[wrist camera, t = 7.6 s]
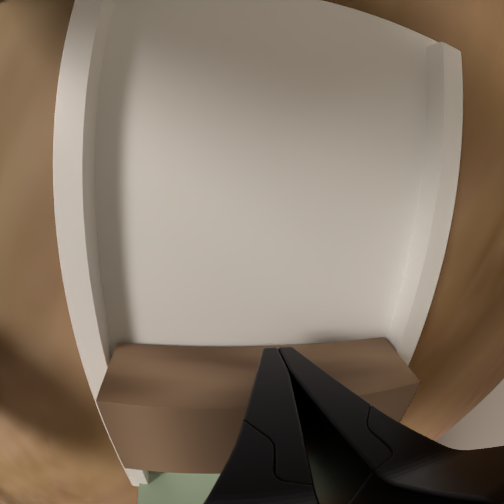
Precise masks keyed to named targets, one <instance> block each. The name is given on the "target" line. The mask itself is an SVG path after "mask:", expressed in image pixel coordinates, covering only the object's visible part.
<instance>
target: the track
mask: <svg viewBox="0 0 504 504" xmlns="http://www.w3.org/2000/svg"><path fill="white" fill-rule="evenodd" d="M462 123H463V79H462V60H461V51H459V50H457V49H455V48H453V47H452V46H450V45H448V44H446V43H444V42H439V43H438V42H436V41H434V40H432V39H430V38H428V37H426V36H424V35H422V34H420V33H417V32H415V31H413V30H410V29H408V28H406V27H403V26H401V25H398V24H396V23H393V22H391V21H388V20H385V19H383V18H380V17H377V16H374V15H371V14H368V13H365V12H362V11H359V10H356V9H352V8H349V7H346V6H342V5H338V4H335V3H331V2H327V1H323V0H75V2H74V6H73V9H72V13H71V17H70V21H69V25H68V30H67V34H66V39H65V44H64V49H63V54H62V60H61V66H60V73H59V80H58V88H57V97H56V107H55V120H54V138H53V190H54V209H55V222H56V233H57V242H58V250H59V258H60V265H61V272H62V278H63V284H64V289H65V294H66V300H67V305H68V309H69V314H70V318H71V323H72V327H73V331H74V335H75V339H76V343H77V346H78V350H79V354H80V357H81V361H82V364H83V367H84V370H85V374H86V377H87V380H88V383H89V386H90V389H91V392H92V395H93V397H94V400H95V403H96V406H97V408H98V405H97V402H96V399H97V396H98V393H99V390H100V387H101V384H102V382H103V379H104V376H105V373H106V371H107V368H108V365H109V363H110V360H111V358H112V355H113V352H114V350H115V347H116V345H117V343H128V344H143V345H162V346H192V347H252V346H282V345H302V344H317V343H330V342H342V341H353V340H362V339H372V338H380V337H384V338H385V339H386V340H387V341H388V343H389V344H390V345H391V346H392V347H393V349H394V350H395V351H396V352H397V353H398V355H399V356H400V357H401V358H402V359H403V361H404V362H405V363H406V364H407V365H409V363H410V361H411V358H412V356H413V353H414V350H415V348H416V345H417V343H418V340H419V337H420V335H421V332H422V329H423V326H424V323H425V320H426V317H427V314H428V311H429V308H430V305H431V302H432V299H433V295H434V292H435V289H436V285H437V282H438V278H439V274H440V270H441V267H442V263H443V259H444V254H445V250H446V246H447V241H448V236H449V232H450V227H451V221H452V216H453V210H454V204H455V198H456V191H457V183H458V175H459V166H460V156H461V143H462ZM98 411H99V414H100V416H101V413H100V410H99V408H98ZM101 419H102V421H103V418H102V416H101ZM103 424H104V426H105V423H104V421H103ZM105 429H106V431H107V433H108V430H107V428H106V426H105ZM108 436H109V438H110V435H109V433H108ZM110 440H111V438H110ZM111 443H112V445H113V447H114V444H113V442H112V440H111ZM114 449H115V447H114ZM115 451H116V449H115ZM116 453H117V451H116ZM117 456H118V458H119V455H118V453H117ZM119 460H120V458H119ZM120 462H121V460H120ZM121 464H122V462H121ZM122 466H123V464H122ZM123 468H124V466H123ZM124 470H125V472H126V474H127V476H128V478H129V480H130V482H131V483H132V485H133V486H139V491H138V501H137V504H203V503H204V502H205V500H206V499H207V497H208V495H209V493H210V492H211V490H212V488H213V486H214V485H215V483H216V481H217V479H218V477H219V476H220V474H192V473H169V472H156V471H145V470H136V469H128V468H124Z"/></svg>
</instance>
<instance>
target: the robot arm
mask: <svg viewBox="0 0 504 504" xmlns="http://www.w3.org/2000/svg"><path fill="white" fill-rule="evenodd" d="M203 504H504V446H499V447H492V448H484V449H476V450H456V449H452V448H448V447H446V446H444V445H441V444H439V443H437V442H435V441H433V440H431V439H429V438H427V437H425V436H423V435H421V434H419V433H417V432H415V431H414V430H412V429H410V428H408V427H406V426H404V425H403V424H401V423H399V422H397V421H395V420H394V419H392V418H391V417H389V416H388V415H386V414H384V413H383V412H381V411H380V410H378V409H377V408H376V407H374V406H373V405H371V406H370V403H368V402H367V401H365V400H364V399H363V398H361V397H360V396H358V395H357V394H355V393H354V392H353V391H351V390H350V389H348V388H347V387H346V386H344V385H343V384H341V383H340V382H339V381H337V380H336V379H335V378H333V377H332V376H330V375H329V374H328V373H326V372H325V371H324V370H322V369H321V368H320V367H318V366H317V365H316V364H314V363H313V362H312V361H310V360H309V359H308V358H306V357H305V356H304V355H302V354H301V353H300V352H298V351H297V350H296V349H294V348H293V347H291V346H287V347H279V348H278V349H277V348H276V347H265V348H263V350H262V354H261V357H260V361H259V365H258V368H257V372H256V376H255V379H254V383H253V386H252V390H251V394H250V397H249V401H248V404H247V408H246V411H245V415H244V418H243V422H242V424H241V428H240V431H239V434H238V437H237V440H236V443H235V446H234V448H233V450H232V452H231V454H230V456H229V459H228V461H227V463H226V465H225V466H224V468H223V470H222V472H221V474H220V476H219V477H218V479H217V481H216V483H215V485H214V486H213V488H212V490H211V492H210V493H209V495H208V497H207V499H206V500H205V502H204V503H203Z"/></svg>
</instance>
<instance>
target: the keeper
mask: <svg viewBox="0 0 504 504" xmlns="http://www.w3.org/2000/svg"><path fill="white" fill-rule="evenodd" d="M287 346H291V347H293V348H294V349H296V350H297V351H298V352H300V353H301V354H302V355H304V356H305V357H306V358H308V359H309V360H310V361H312V362H313V363H314V364H316V365H317V366H318V367H320V368H321V369H322V370H324V371H325V372H326V373H328V374H329V375H330V376H332V377H333V378H335V379H336V380H337V381H339V382H340V383H341V384H343V385H344V386H346V387H347V388H348V389H350V390H351V391H353V392H354V393H355V394H357V395H358V396H360V397H361V398H363V399H364V400H365V401H367V402H368V403H370V406H371V405H373V406H374V407H376V408H377V409H378V410H380V411H381V412H383V413H384V414H386V415H388V416H389V417H391V418H392V419H394V420H395V421H397V422H399V423H400V421H401V419H402V417H403V416H404V414H405V412H406V410H407V408H408V406H409V405H410V403H411V401H412V399H413V397H414V395H415V393H416V391H417V389H418V387H419V385H420V383H421V381H420V380H419V379H418V378H417V376H416V375H415V374H414V373H413V372H412V370H411V369H410V368H409V367H408V365H407V364H406V363H405V362H404V361H403V359H402V358H401V357H400V356H399V355H398V353H397V352H396V351H395V350H394V349H393V347H392V346H391V345H390V344H389V343H388V341H387V340H386V339H385V338H384V337H380V338H372V339H362V340H353V341H342V342H330V343H317V344H302V345H282V346H252V347H192V346H162V345H143V344H128V343H117V345H116V347H115V350H114V352H113V355H112V358H111V360H110V363H109V365H108V368H107V371H106V373H105V376H104V379H103V382H102V384H101V387H100V390H99V393H98V396H97V399H96V402H97V405H98V408H99V410H100V413H101V416H102V418H103V421H104V423H105V426H106V428H107V430H108V433H109V435H110V438H111V440H112V442H113V444H114V447H115V449H116V451H117V453H118V455H119V458H120V460H121V462H122V464H123V466H124V468H128V469H136V470H145V471H156V472H169V473H192V474H221V472H222V470H223V468H224V466H225V465H226V463H227V461H228V459H229V456H230V454H231V452H232V450H233V448H234V446H235V443H236V440H237V437H238V434H239V431H240V428H241V424H242V422H243V418H244V415H245V411H246V408H247V404H248V401H249V397H250V394H251V390H252V386H253V383H254V379H255V376H256V372H257V368H258V365H259V361H260V357H261V354H262V350H263V348H265V347H276V348H277V349H278V348H279V347H287Z"/></svg>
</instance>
